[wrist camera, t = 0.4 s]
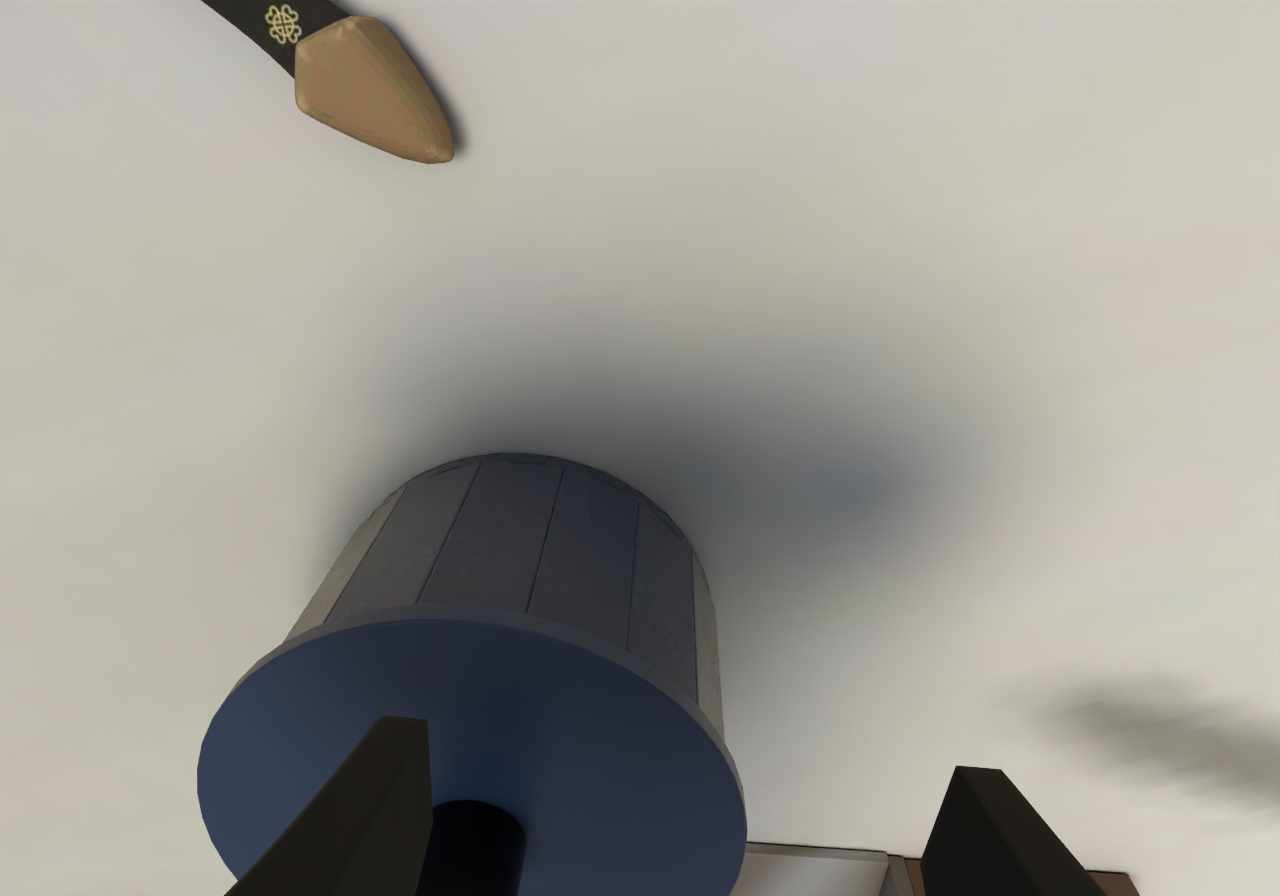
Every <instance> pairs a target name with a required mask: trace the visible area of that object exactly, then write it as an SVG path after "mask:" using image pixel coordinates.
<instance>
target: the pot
mask: <svg viewBox="0 0 1280 896" xmlns="http://www.w3.org/2000/svg"><path fill="white" fill-rule="evenodd" d="M424 603H427V604H469V605H478V606H486V607H495V608H503V609H509V610H513V611H518V612H522V613H527V614H531V615H536V616H540V617H545V618H548V619H551V620H554V621H557V622H560V623H563V624H566V625H569V626H572V627H575V628H578V629H581V630H584V631H586V632H588V633H590V634H593V635H595V636H597V637H599V638H601V639H604V640H606V641H608V642H610V643H612V644H615V645H617V646H619V647H621V648H622V649H624V650H626V651H627V652H629V653H631V654H632V655H634V656H636V657H637V658H639V659H641V660H642V661H644V662H646V663H647V664H649V665H651V666H652V667H653V668H655V669H656V670H657V671H659V672H660V673H661V674H662V675H664V676H665V677H666V678H668V679H669V680H670V681H671V682H673V683H674V684H675V685H677V686H678V687H679V688H680V689H681V690H682V691H683V692H684V693H685V694H686V695H687V696H688V697H689V698H690V699H691V700H692V701H693V702H694V703H695V704H696V705H697V706H698V707H699V708H700V709H701V710H702V711H703V712H704V714H705V715H706V716H707V718H708V719H709V720H710V722H711V723H712V724H713V726H714V727H715V729H716V730H717V731H718V733H719V734H720V735H721V737H722V739H723V741H724V742H725V738H724V725H723V712H722V699H721V686H720V673H719V659H718V646H717V633H716V620H715V610H714V606H713V603H712V601H711V598H710V593H709V587H708V584H707V581H706V577H705V574H704V570H703V568H702V566H701V564H700V562H699V559H698V557H697V555H696V553H695V551H694V549H693V548H692V546H691V545H690V543H689V542H688V540H687V539H686V537H685V536H684V534H683V533H682V531H681V530H680V529H679V528H678V527H677V526H676V524H675V523H674V522H673V521H672V520H671V519H670V518H669V517H668V515H667V514H666V513H665V512H663V511H662V510H661V509H660V508H659V507H658V506H656V505H655V504H654V503H653V502H652V501H651V500H650V499H648V498H647V497H646V496H644V495H643V494H641V493H640V492H638V491H637V490H635V489H634V488H632V487H631V486H629V485H628V484H626V483H624V482H622V481H620V480H618V479H616V478H614V477H612V476H610V475H608V474H606V473H604V472H602V471H599V470H596V469H593V468H591V467H588V466H585V465H583V464H580V463H576V462H572V461H568V460H564V459H559V458H555V457H549V456H541V455H533V454H493V455H484V456H476V457H471V458H467V459H463V460H459V461H455V462H451V463H448V464H445V465H443V466H440V467H437V468H435V469H432V470H430V471H427V472H425V473H423V474H422V475H420V476H418V477H416V478H414V479H412V480H411V481H409V482H407V483H406V484H404V485H403V486H402V487H400V488H399V489H398V490H396V491H395V492H394V493H392V494H391V495H390V496H389V497H388V498H387V499H386V500H385V501H384V502H383V503H382V504H381V505H380V506H379V507H378V508H377V509H376V510H375V511H374V512H373V514H372V515H371V517H370V518H369V519H367V520H366V521H365V522H364V523H363V524H362V525H361V526H360V527H359V528H358V529H357V531H356V532H355V534H354V535H353V537H352V538H351V540H350V541H349V543H348V544H347V546H346V547H345V549H344V551H343V552H342V554H341V555H340V557H339V558H338V560H337V561H336V563H335V564H334V566H333V567H332V569H331V570H330V572H329V573H328V575H327V576H326V578H325V579H324V581H323V582H322V584H321V585H320V587H319V588H318V590H317V591H316V593H315V594H314V596H313V598H312V599H311V601H310V602H309V604H308V605H307V607H306V608H305V610H304V611H303V613H302V614H301V616H300V617H299V619H298V620H297V622H296V623H295V625H294V626H293V628H292V629H291V631H290V632H289V634H288V635H287V637H286V638H285V640H284V641H283V643H284V642H286V641H288V640H290V639H292V638H294V637H296V636H297V635H299V634H301V633H303V632H305V631H307V630H309V629H311V628H313V627H315V626H318V625H321V624H324V623H327V622H330V621H333V620H336V619H338V618H341V617H344V616H347V615H351V614H356V613H360V612H365V611H370V610H374V609H379V608H384V607H393V606H403V605H414V604H424Z"/></svg>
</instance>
